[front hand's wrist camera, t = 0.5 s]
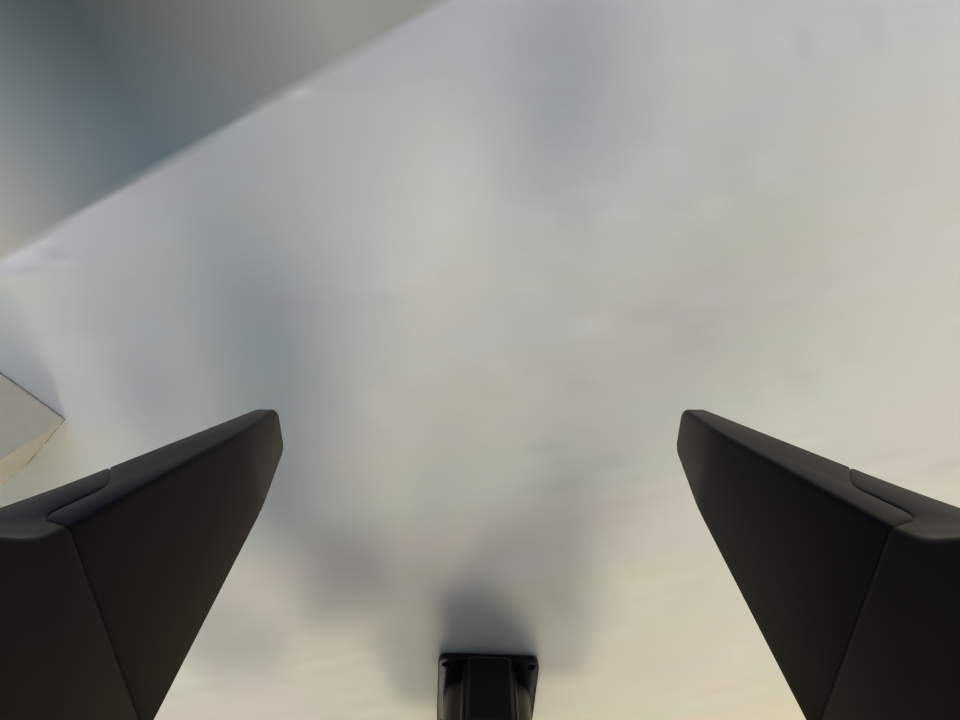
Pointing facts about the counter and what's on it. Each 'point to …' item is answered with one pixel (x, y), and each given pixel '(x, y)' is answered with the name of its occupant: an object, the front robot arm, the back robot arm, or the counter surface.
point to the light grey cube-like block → (22, 427)
